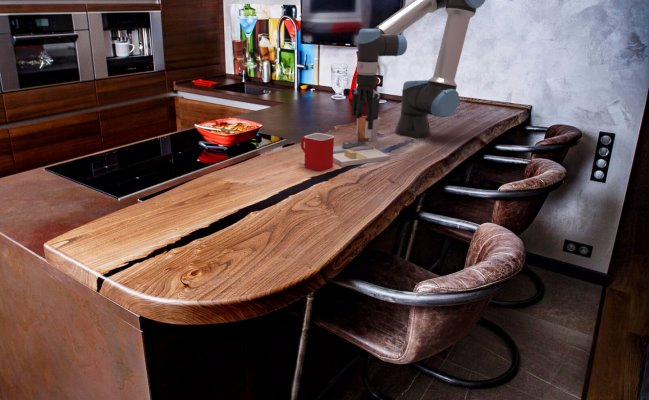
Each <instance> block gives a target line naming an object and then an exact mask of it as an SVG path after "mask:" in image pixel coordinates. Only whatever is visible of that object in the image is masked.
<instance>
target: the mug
mask: <svg viewBox="0 0 649 400" xmlns="http://www.w3.org/2000/svg"><path fill="white" fill-rule="evenodd" d="M334 140H335V136H334V135H331V134H327V133H326V134H325V133H322V132H321V133H320V132H314V133H311V134H307V135H304V136H303V137H301V138H300V148H301V150H302V152H303V153H304V168H306V169H308V170H309V169H310V170H313V171H317V172H322V171H323V172H324V171H326V170H329V169H332V168H333V167H334V162H333V147H334V146H335V145H334V144H335V141H334Z"/></svg>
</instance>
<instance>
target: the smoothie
mask: <svg viewBox="0 0 649 400" xmlns="http://www.w3.org/2000/svg"><path fill="white" fill-rule="evenodd" d="M370 118H371V117H370ZM381 119H382V118H381V117H380V116H378V119H377V120H374V121H373V129H372V131H371V137H370V138H369V140H368V141H367V142H369V143H375V142H377V139H378V133H379V128H380V124H381V123H380V122H382V120H381Z"/></svg>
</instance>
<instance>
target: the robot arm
mask: <svg viewBox="0 0 649 400" xmlns="http://www.w3.org/2000/svg"><path fill="white" fill-rule="evenodd" d="M485 1H486V0H411V1H410V2H409V3H407V4H406V5H405V6H403V7H402V8H400V9H399V10H398V11H396V12H395V13H394V14H392V15H390V17H388V18H386V19H385V20H384V21H382V22H381V23H379V25H377V26H375V27H373V28H361V29H360V30H359V31H358V35H357V36H356V39H355V44H356V47H357V61H356V62H357V65H356V72H357V74H356V79H355V81H356V82H355V83H356V85H357V86H356V88H352V89H350V93H351V115H352V116H354V118H355V136H357V137H358V131H359V116H363V113H364V107H366V116H367V120H366V124H365V138H370V137H371V131H372V129H373V121H374V120H377V119H378V117H379V109H380V100H381V97H382V93H381V92H377V89H376V85H377V83H378V75H377V73H378V67H379V57H398V56H403V55H404V54H405V53H406V51H407V49H408V41H407V37H405V36H404V35H403V34H402V33H403V32H404V31H405V30H407V29H408V28H409V27H411V26H413V25H414V24H415V23H417V21H419V20H421V19H422V18H423V17H425V16H426V15H427V14H430V13H431V14H432V13H434V12H435V13H436V12H437V10H440V9H443V8H445V10H444V11H445V12H446V14H447V18H446V22H445V26H444V30H443V34H442V37H441V43H440V47H439V49H438V50H439V51H438V55H437V59H436V62H435V68H434V72H433V75H432V77H431V78H429V79H426V80H425V79H423V80H407V81H405V82H404V83H403V84H402V85H403V87H402V90H401V91H402V92H401V93H402V94H401V105H400V108H401V109H400V116H399V119H398V121H397V124H396V126H395V134H396V135H398V136H401V137H407V138H426V137H429V136H430V135H431V128H430V123H429V122H430V121H429V117H428V116H429V115H431V116H433V117H437V118H438V117H439V118H447V117H449V116H451V115H452V114H454V112H456V110H457V108H458V106H459V105H460V98H461V97H460V96H459V95H460V94H459V92H458V91H457V87H458V85H457V83H456V81H455V79H456V76H457V72H458V67H459V63H460V59H461V55H462V51H463V49H464V43H465V40H466V36H467V31H468V28H469V24H470V20H471V18H473V17H474V16H475V15H476V12H477V9H479V8H480V7H482V5H484V3H485ZM370 117H371V118H370Z"/></svg>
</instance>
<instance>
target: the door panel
mask: <svg viewBox="0 0 649 400" xmlns="http://www.w3.org/2000/svg"><path fill="white" fill-rule="evenodd" d="M390 157H391V156H390V155H389V154H387V153H386V152H382V151H381V150H378V149H376V148H374V149H370V150H361V151H352V150H350V149H346V150H344V153H337V154H333V163H334V164H337V165H338V166H340V167H348V166H354V165H361V164H363V165H364V164H369V163H377V162H385V161H390Z"/></svg>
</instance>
